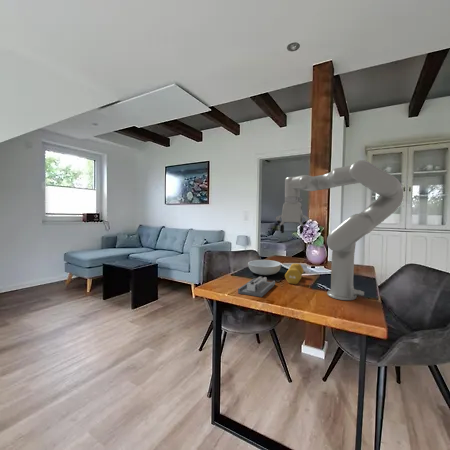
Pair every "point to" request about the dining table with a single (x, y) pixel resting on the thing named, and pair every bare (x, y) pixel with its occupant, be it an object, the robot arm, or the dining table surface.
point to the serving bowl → (264, 267)
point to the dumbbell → (294, 273)
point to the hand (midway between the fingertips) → (291, 233)
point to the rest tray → (259, 292)
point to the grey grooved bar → (256, 284)
